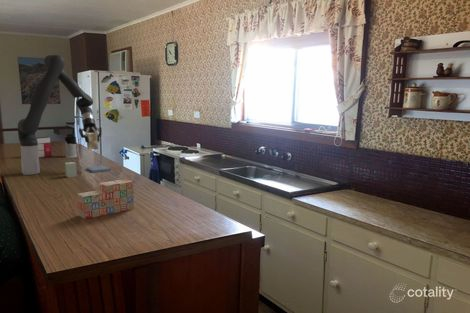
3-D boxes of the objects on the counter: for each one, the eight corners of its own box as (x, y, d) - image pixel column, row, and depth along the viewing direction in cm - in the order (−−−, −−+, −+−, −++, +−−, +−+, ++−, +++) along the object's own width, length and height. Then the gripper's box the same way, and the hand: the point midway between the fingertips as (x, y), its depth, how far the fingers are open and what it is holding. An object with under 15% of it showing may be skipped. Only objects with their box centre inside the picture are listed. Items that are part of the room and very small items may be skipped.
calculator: (37, 158, 283) (36, 138, 281) (35, 157, 286) (33, 137, 284) (52, 156, 292) (50, 137, 290) (49, 155, 295) (48, 136, 292)
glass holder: (65, 156, 294) (63, 136, 292) (84, 155, 300) (83, 136, 297) (65, 157, 286) (64, 138, 284) (85, 156, 292) (84, 137, 290)
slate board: (93, 172, 234) (93, 170, 234) (86, 169, 244) (86, 167, 244) (110, 170, 241) (110, 168, 241) (103, 167, 251) (103, 165, 251)
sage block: (68, 177, 221) (67, 164, 220) (65, 176, 225) (64, 162, 223) (76, 176, 224) (76, 163, 223) (74, 175, 228) (73, 161, 227)
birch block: (90, 149, 235) (88, 133, 233) (87, 148, 239) (86, 133, 237) (98, 149, 238) (97, 133, 236) (95, 148, 242) (94, 132, 240)
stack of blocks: (84, 219, 149) (82, 189, 147) (78, 215, 154) (76, 186, 152) (134, 208, 163) (133, 181, 161) (127, 205, 168) (126, 178, 166)
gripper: (76, 117, 238) (80, 138, 230) (100, 116, 245) (105, 137, 237) (76, 125, 244) (80, 146, 236) (99, 124, 251) (104, 144, 243)
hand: (92, 141), depth 236 cm, fingers closed on birch block, 5 cm apart
